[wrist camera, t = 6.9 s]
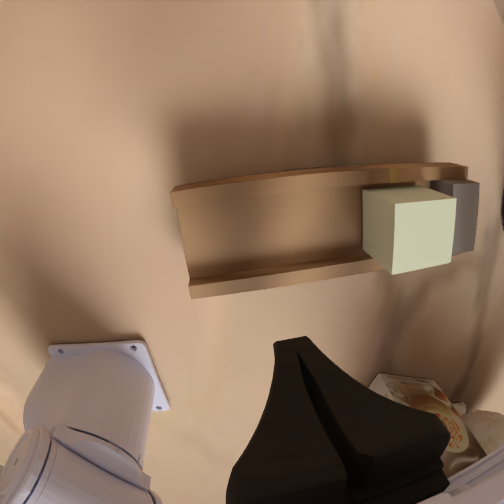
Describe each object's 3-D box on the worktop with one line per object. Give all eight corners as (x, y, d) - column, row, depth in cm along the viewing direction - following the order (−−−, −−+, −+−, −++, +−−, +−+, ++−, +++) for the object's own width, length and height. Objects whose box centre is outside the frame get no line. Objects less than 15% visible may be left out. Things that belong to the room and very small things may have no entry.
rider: (362, 249, 18) (391, 274, 15) (362, 189, 17) (395, 204, 13) (416, 240, 18) (450, 262, 15) (418, 185, 17) (456, 198, 14)
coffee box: (435, 377, 28) (508, 481, 13) (404, 417, 30) (460, 519, 15) (377, 370, 26) (455, 508, 12) (344, 415, 28) (396, 545, 13)
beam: (195, 270, 21) (189, 312, 16) (179, 180, 19) (165, 197, 14) (430, 235, 22) (473, 261, 17) (433, 158, 20) (481, 169, 15)
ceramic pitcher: (481, 342, 29) (599, 476, 6) (505, 398, 34) (577, 493, 10) (347, 450, 33) (396, 612, 10) (405, 478, 38) (448, 586, 14)
